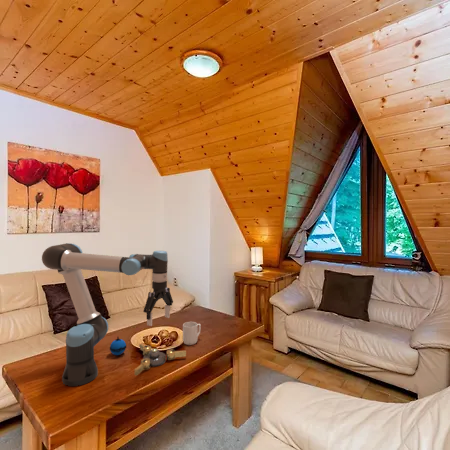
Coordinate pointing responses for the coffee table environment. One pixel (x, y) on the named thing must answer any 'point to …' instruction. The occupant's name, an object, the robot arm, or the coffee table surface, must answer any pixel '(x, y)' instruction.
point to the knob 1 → (145, 349)
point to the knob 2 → (143, 366)
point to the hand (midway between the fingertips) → (158, 321)
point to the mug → (190, 332)
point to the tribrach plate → (157, 361)
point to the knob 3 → (175, 354)
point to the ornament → (117, 346)
